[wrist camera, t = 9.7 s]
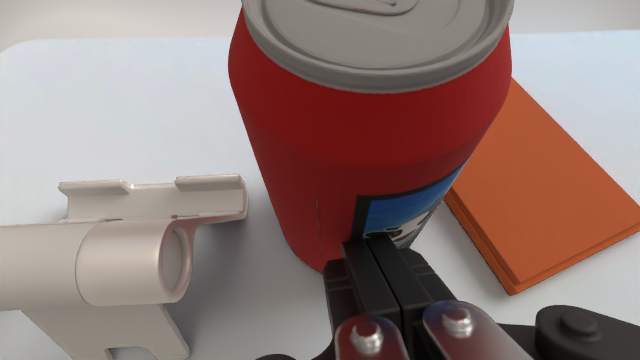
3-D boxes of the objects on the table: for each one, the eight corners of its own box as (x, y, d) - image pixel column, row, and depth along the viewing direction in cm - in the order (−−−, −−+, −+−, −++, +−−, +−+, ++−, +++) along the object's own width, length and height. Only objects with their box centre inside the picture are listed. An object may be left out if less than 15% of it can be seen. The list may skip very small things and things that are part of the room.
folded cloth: (500, 78, 21) (508, 64, 20) (643, 227, 16) (665, 218, 15) (389, 120, 20) (392, 106, 19) (510, 296, 15) (523, 291, 14)
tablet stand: (249, 191, 18) (193, 72, 11) (238, 357, 14) (139, 351, 7) (88, 199, 18) (-78, 85, 11) (34, 366, 14) (-280, 371, 7)
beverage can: (401, 302, 15) (564, 154, 5) (261, 259, 16) (133, 61, 6) (423, 176, 18) (552, -85, 8) (305, 148, 19) (275, -114, 9)
